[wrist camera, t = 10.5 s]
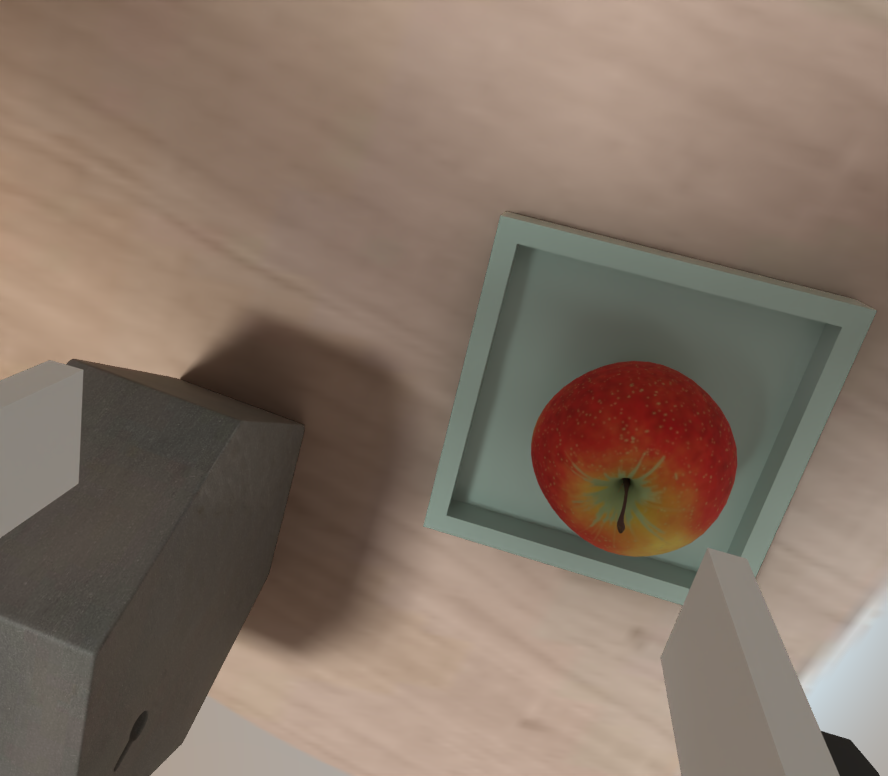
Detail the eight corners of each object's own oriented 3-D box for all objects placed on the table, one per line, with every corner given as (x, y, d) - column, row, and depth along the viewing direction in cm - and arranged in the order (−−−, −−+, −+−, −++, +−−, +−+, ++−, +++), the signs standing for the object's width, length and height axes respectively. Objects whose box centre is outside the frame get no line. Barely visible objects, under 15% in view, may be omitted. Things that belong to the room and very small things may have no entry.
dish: (432, 504, 38) (423, 526, 36) (506, 211, 33) (500, 215, 31) (726, 593, 37) (735, 621, 34) (855, 299, 31) (876, 310, 29)
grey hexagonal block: (145, 271, 32) (-268, 745, 20) (301, 326, 31) (-26, 850, 19) (198, 456, 46) (-26, 804, 34) (308, 497, 45) (119, 867, 33)
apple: (749, 431, 33) (813, 538, 24) (609, 520, 36) (618, 648, 27) (643, 300, 32) (666, 360, 23) (508, 403, 35) (480, 493, 26)
